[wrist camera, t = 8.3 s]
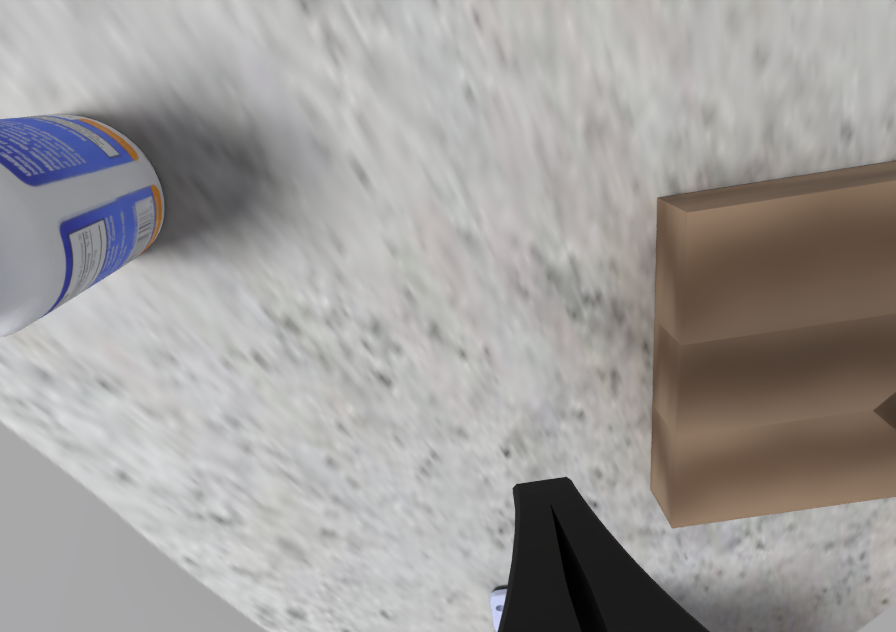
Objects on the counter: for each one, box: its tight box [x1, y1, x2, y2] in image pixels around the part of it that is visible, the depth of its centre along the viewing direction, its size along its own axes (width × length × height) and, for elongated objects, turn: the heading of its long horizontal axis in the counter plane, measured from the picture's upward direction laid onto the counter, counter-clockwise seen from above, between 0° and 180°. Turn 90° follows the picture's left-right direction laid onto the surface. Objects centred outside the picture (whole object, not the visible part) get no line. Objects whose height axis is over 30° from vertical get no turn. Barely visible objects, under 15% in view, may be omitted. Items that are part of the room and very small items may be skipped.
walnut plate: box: [651, 161, 896, 528], centre depth 22 cm, size 15×18×2 cm
